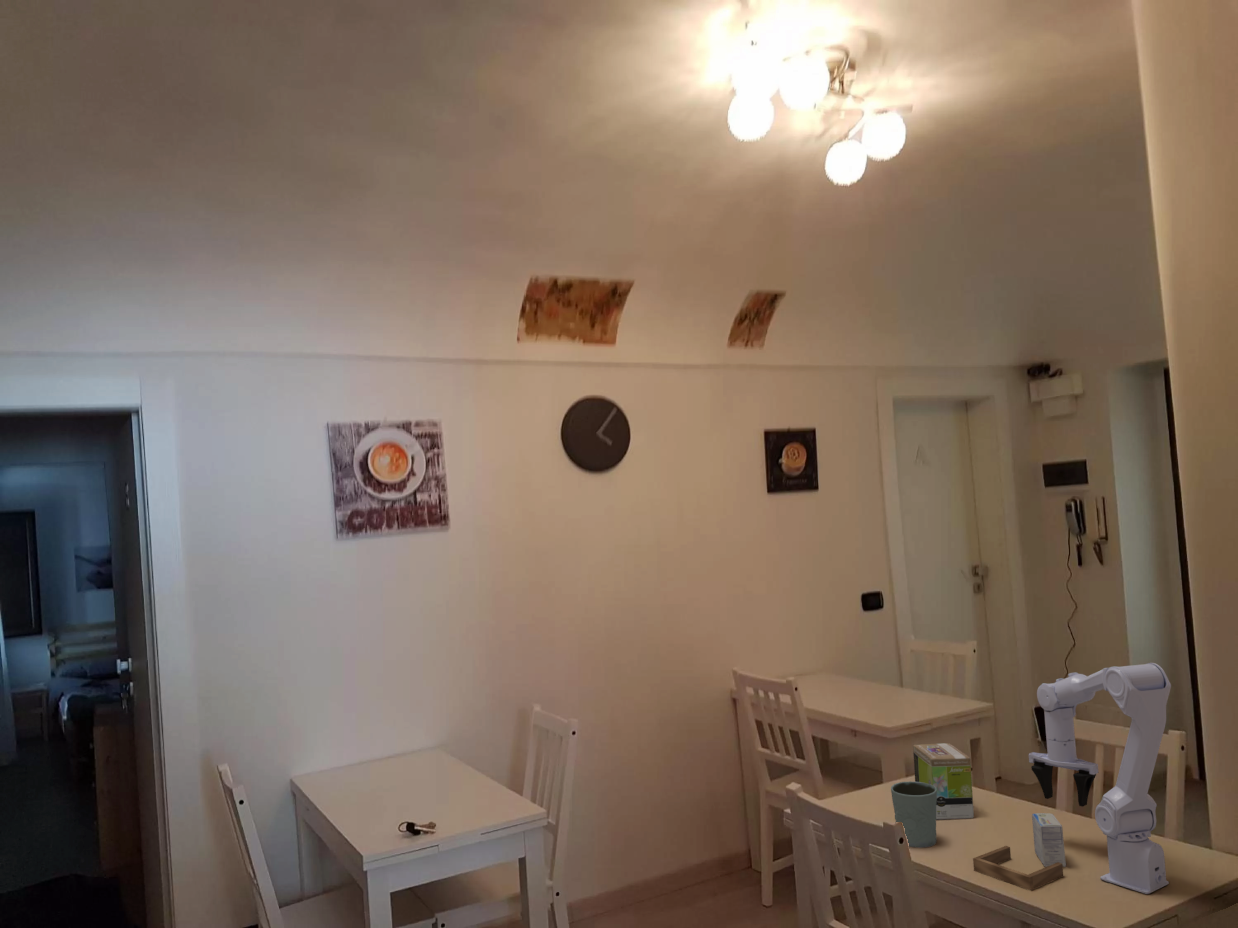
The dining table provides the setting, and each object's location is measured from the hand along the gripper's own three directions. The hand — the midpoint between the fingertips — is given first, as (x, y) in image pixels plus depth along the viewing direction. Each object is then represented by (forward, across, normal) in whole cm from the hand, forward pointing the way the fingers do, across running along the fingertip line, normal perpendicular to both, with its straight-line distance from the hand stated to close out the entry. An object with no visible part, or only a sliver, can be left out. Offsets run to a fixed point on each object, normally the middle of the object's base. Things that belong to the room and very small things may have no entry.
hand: (1065, 801), depth 201 cm
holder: (+10, +1, +19) cm, 22 cm away
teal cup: (+10, +26, +18) cm, 33 cm away
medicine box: (+11, 0, +8) cm, 14 cm away
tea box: (+10, +34, -4) cm, 36 cm away
